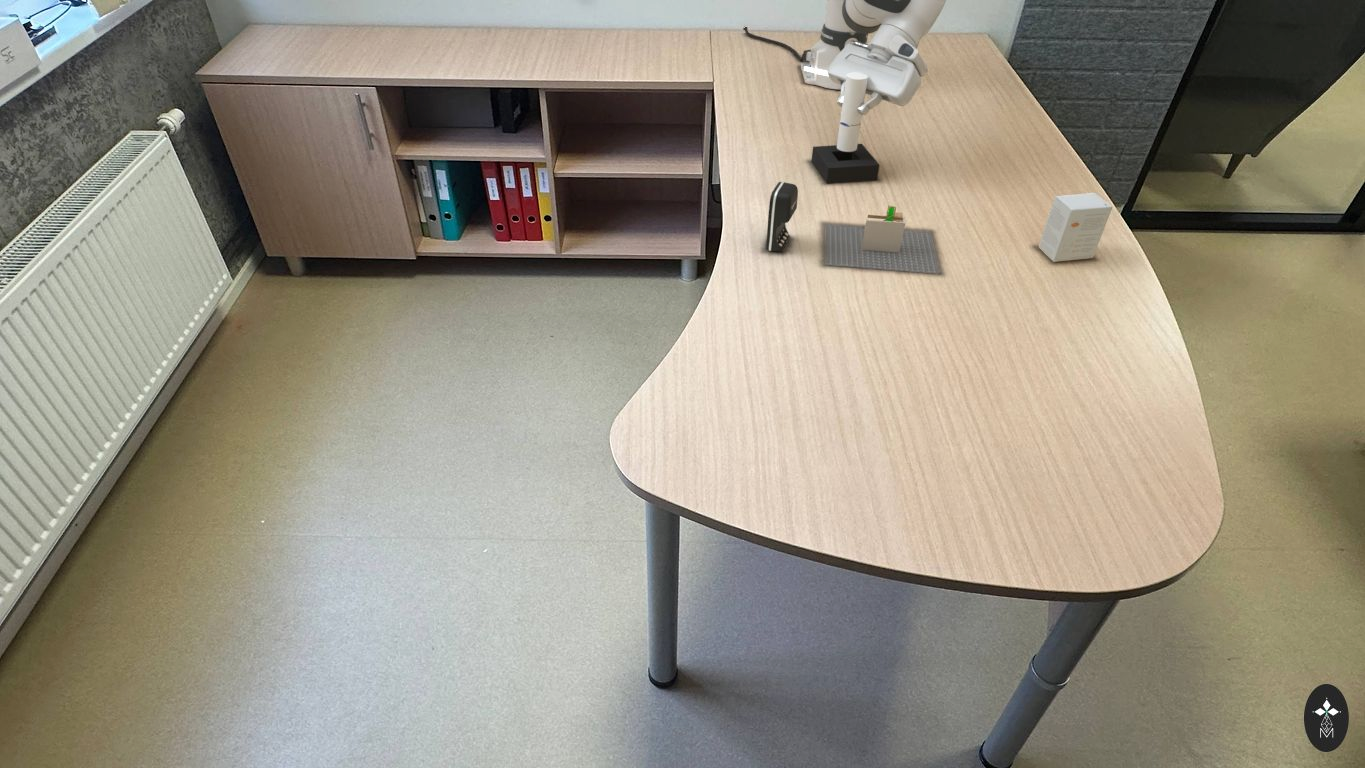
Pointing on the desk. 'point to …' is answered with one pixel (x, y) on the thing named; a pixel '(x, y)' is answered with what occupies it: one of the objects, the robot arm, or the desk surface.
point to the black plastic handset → (780, 215)
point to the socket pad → (844, 164)
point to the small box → (1074, 226)
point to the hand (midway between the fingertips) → (850, 109)
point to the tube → (851, 111)
